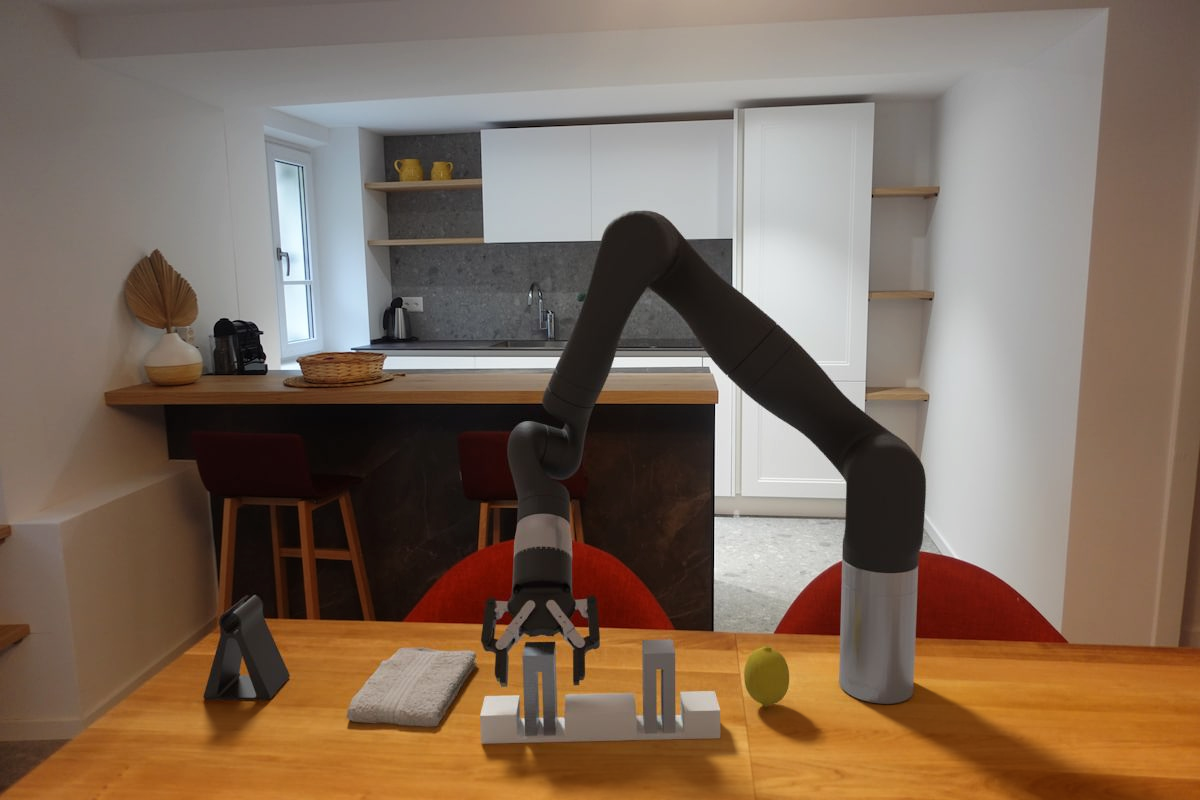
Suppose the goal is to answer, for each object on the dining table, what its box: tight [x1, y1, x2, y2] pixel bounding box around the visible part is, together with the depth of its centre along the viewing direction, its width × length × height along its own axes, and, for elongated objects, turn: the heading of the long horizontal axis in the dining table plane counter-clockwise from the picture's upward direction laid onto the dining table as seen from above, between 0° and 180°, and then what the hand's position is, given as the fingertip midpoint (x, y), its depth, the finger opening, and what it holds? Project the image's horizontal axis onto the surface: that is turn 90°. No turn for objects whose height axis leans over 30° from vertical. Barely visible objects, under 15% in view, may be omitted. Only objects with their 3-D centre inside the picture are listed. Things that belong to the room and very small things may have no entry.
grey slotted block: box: [521, 641, 558, 736], centre depth 96 cm, size 4×4×10 cm
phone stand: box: [202, 594, 291, 701], centre depth 108 cm, size 9×6×12 cm, turn 87°
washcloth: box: [346, 647, 477, 728], centre depth 107 cm, size 12×18×3 cm, turn 173°
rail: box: [479, 638, 721, 745], centre depth 96 cm, size 28×4×10 cm, turn 91°
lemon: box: [743, 645, 790, 708], centre depth 101 cm, size 6×6×8 cm
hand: (540, 684), depth 95 cm, fingers open, 8 cm apart
